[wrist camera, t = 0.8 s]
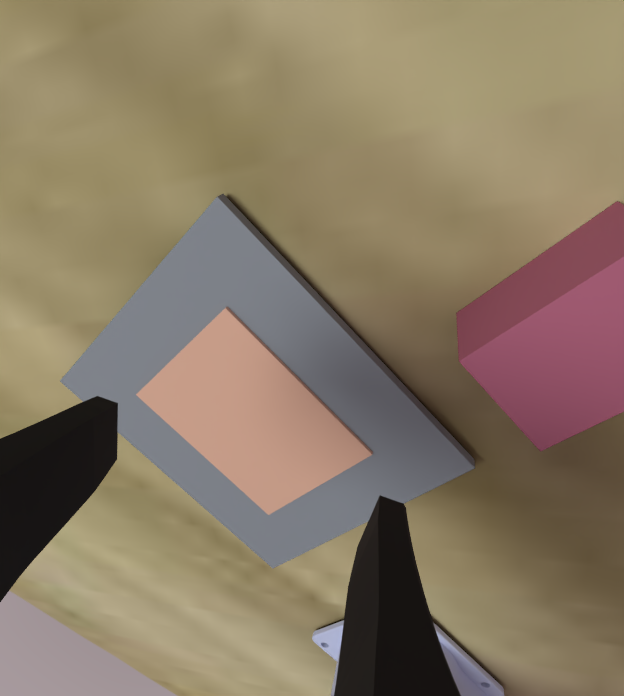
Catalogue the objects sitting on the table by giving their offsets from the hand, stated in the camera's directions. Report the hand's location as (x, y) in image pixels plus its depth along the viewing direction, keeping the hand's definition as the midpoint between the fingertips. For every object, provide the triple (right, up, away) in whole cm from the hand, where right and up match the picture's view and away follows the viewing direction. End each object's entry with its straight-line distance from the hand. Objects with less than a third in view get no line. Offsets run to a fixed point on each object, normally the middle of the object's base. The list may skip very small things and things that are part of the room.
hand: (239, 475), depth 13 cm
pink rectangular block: (+11, +5, +6) cm, 14 cm away
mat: (-1, 0, +11) cm, 11 cm away
